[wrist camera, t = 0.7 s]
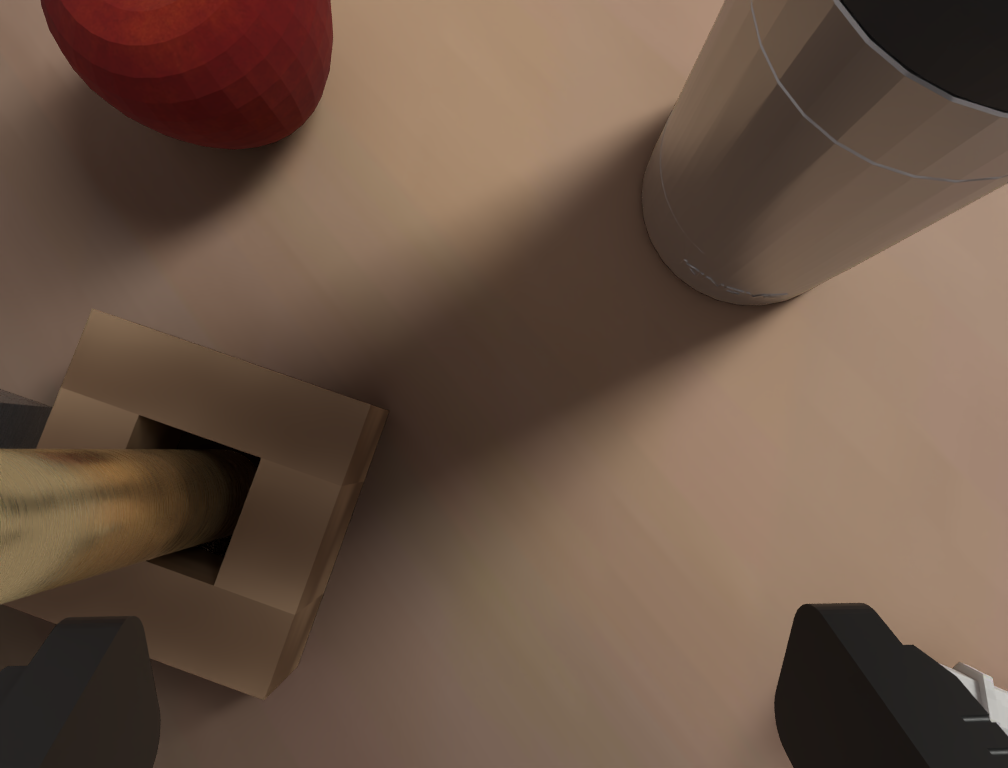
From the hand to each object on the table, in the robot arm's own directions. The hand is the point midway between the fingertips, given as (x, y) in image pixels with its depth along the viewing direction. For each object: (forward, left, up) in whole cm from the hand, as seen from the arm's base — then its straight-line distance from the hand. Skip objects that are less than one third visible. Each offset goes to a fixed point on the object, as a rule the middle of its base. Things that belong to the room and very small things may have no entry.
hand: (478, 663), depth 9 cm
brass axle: (+3, -11, -21) cm, 24 cm away
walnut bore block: (+3, -11, -21) cm, 24 cm away
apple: (-14, -16, -21) cm, 30 cm away
